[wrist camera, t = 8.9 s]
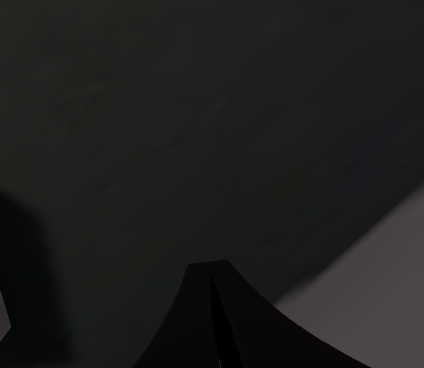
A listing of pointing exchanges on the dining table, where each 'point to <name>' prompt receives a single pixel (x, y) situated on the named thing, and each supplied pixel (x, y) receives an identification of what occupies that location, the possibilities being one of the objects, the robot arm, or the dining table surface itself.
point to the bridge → (3, 319)
